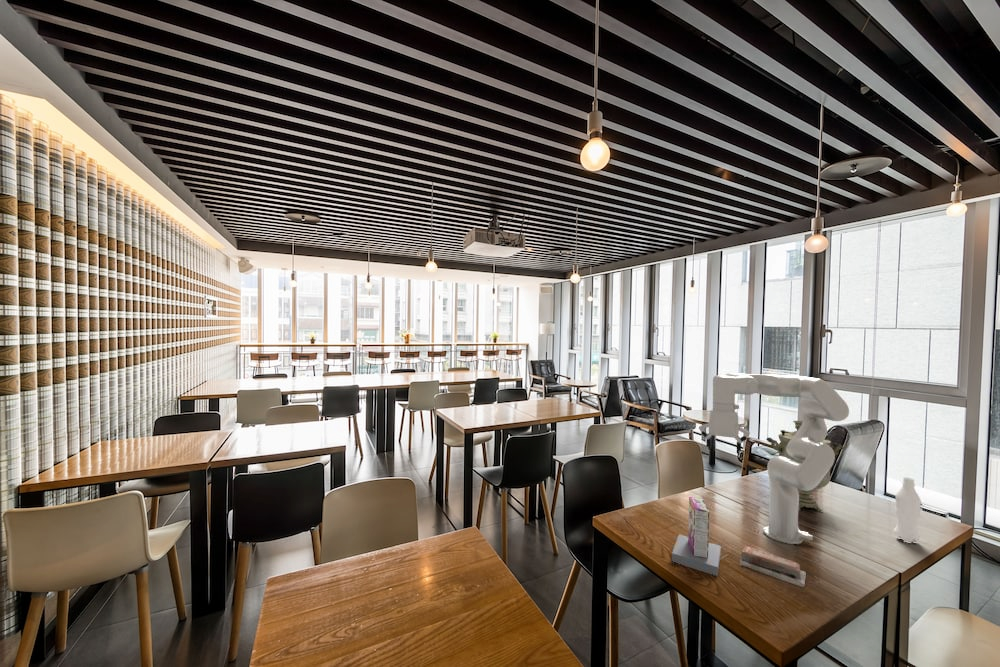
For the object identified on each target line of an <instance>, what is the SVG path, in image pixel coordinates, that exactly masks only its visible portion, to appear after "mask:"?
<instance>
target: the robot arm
mask: <svg viewBox="0 0 1000 667" xmlns="http://www.w3.org/2000/svg"><path fill="white" fill-rule="evenodd" d="M753 394H758V395H764V396H769V397H780V398H781V397H787V398H788V397H789V398H801V399H800V402H799V406H800V407H799V408H800V411H801V415H802V421H803V422H802V425H801V427H800V428H799V430H798V431H797V430H796V431H797V432H796V434H795V435H794V436H793V438H792V439H791V440H790V441H789V443H788V445H787V447H786V451H787V453H788V454H789V455H790V456H791V457H793V458H795V459H797V460H800V461H802V462H803V463H799V462H797V461H795V460H792V459H789V458H786V457H782V456H779V455H777V456H773V457H771V458H769V461H767V466H766V467H767V468H766V470H767V475H768V480H769V495H768V497H769V498H768V522H767V524H768V526H765V527H763V533H764V535H766V536H767V537H769V539H772V540H775V541H777V542H779V543H782V542H783V544H786V543H787V544H788V545H793V544H797V545H801V544H802V543H803V539H805V540H809V541H813V540H814V538H813V537H814V536H813V535H812V534H809V532H807V531H802V530H800V528H799V510H798V506H799V493H798V490H797V488H798V489H800V490H804V491H810V490H812V489H814V488H815V487H816V486H817V485H818V484H819V483H820V481H821V480H822V479H823V477H824V476H825V475H826V473H827V472H828V471H829V469H830V470H831V468H832V466H833V464H834V463H835V460H836V458H835V457H836V456H835V454H834V448H833V449H832V448H831V447H830V446H829V445H827V444H825V443H822V442H823V441H824V439H825V438H826V435H828V427H827V425H826V422H825V420H827V421H832V422H833V421H834V422H842V421H844V420H846V419H847V418H848V417H849V414H850V409H849V406H848V404H847V402H846V401H845V399H844V398H843V397H841V395H840V394H839V393H838V392H837V391H836V390H835V389H834V387H832V386H831V385H830V384H829V383H828V382H827V381H825V380H823V379H821V378H816V377H809V376H803V375H785V374H784V375H783V374H781V375H779V374H754V373H753V374H752V373H734V372H729V373H726V374H717V375H714V376H713V377H712V408H711V409H710V410H709V418H708V423H705V424H701V425H699V426H698V430H699V431H700V433H701V435H702V436H703V437H704V438H705V439H706V447H707V448H708V450H711V448H712V438H711V437H713V436H716V437H723V438H732V439H733V438H734V439H735V441H736V453H737V455H738V454H740V453H739V452H741V451H742V443H743V442H745V441H746V440H747V439H748V437H749V435H750V434H751V433H750V431H748V430H747V429H745V428H743V427H741V426H739V414H738V411H737V410H739V409H740V405H738V404H736V395H743V396H751V395H753ZM706 428H708V433H707V432H706V431H705V429H706ZM739 432H741V433H742V434H743V436H741V437H740V436H739V434H740V433H739ZM787 544H786V545H787Z"/></svg>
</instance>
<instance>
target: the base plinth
mask: <svg viewBox="0 0 1000 667" xmlns="http://www.w3.org/2000/svg"><path fill="white" fill-rule="evenodd" d="M721 551H722V546H721V545H719V544H716V543H711V542H709V541H708V558H702V557H696V556H693V553H692V550H691V547H690V544H689V541H688V536H686V535H683V534H680V533H679V534H678V536H677V539H676V541H675V543H674V546H673V549H672V552H671V562H672V561H673V562H672V563H674V562H676V563H675V564H677V563H678V565H680V564H681V565H682V566H685V567H687V568H691V569H694V570H697V571H700V572H702V571H703V573H706V574H710V575H712V574H713V575H712V576H715V575H716V576H715V577H718V576H719V571H720V570H719V568H720V560H721Z"/></svg>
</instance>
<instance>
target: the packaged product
mask: <svg viewBox="0 0 1000 667" xmlns="http://www.w3.org/2000/svg"><path fill="white" fill-rule="evenodd" d="M740 555H741V558H740V560H739V565H740V566H742V565H743V566H742V567H744V568H747V567H748V568H747V569H750V568H751V570H753V571H756V572H758V571H759V572H758V573H761V574H764V575H768V576H769V575H770V577H772V578H775V579H778V580H781V581H784V582H786V583H789V584H792V585H796V586H798V587H800V588H801V587H802V588H804V587H805V585H806V579H807V575H806V574H807V572H806V571H805V570H801V566H800V564H799V563H798V562H796V561H792V560H789V559H786V558H785V557H784V558H783V557H781V556H778V555H775V554H771V553H769V552H766V551H762V550H760V549H757V548H755V547H752V546H747V545H744V547H743V549H742V550H741V554H740Z"/></svg>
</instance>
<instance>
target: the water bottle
mask: <svg viewBox="0 0 1000 667" xmlns="http://www.w3.org/2000/svg"><path fill="white" fill-rule="evenodd" d="M902 479H903V480H902V482H901V483H902V486H901V487H900V489H899V490H898V491H897V492H896V494H895V506H894V507H895V508H894V511H895V514H896V517H897V524H896V526H895V528H894V529H893V532H894V536H895V537H898V538H902V540H904V541H908V542H918V543H919V542H920V539H921V535H920V534H919V531H918V523H919V521H920V520H921V517H922V516H921V505H922V501H921V498H920V496H919V493H917V491H916V489H915V486H916V485H915V479H913V478H911V477H906V476H905V477H903V478H902ZM902 540H901V541H902ZM904 541H903V542H904Z"/></svg>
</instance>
